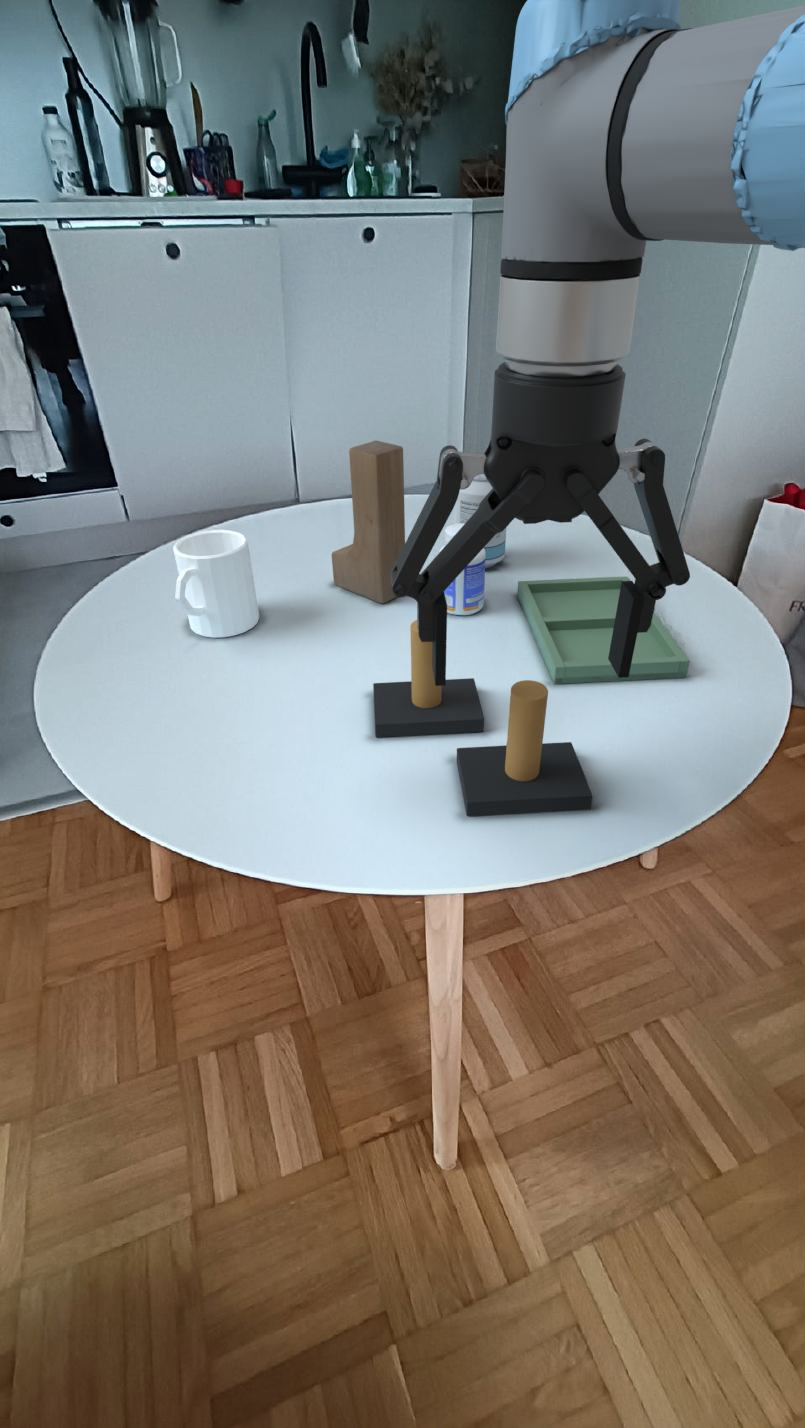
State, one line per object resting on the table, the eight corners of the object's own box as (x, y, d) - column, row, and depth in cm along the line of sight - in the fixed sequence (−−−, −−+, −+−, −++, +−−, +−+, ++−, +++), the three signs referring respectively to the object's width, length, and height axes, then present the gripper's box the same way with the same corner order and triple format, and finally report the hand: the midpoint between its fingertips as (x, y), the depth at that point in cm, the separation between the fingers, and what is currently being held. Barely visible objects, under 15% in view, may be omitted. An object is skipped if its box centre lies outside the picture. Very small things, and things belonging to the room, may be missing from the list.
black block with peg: (483, 732, 66) (488, 642, 61) (375, 737, 66) (370, 647, 60) (473, 690, 72) (476, 604, 66) (373, 695, 72) (368, 609, 66)
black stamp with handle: (590, 809, 57) (607, 712, 52) (466, 816, 57) (470, 719, 52) (569, 755, 63) (582, 662, 58) (456, 761, 63) (458, 668, 57)
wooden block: (332, 584, 93) (320, 440, 82) (357, 573, 95) (348, 432, 85) (382, 605, 88) (376, 454, 77) (407, 593, 90) (404, 445, 80)
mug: (158, 650, 80) (137, 567, 74) (212, 602, 89) (197, 526, 84) (222, 659, 78) (205, 575, 72) (270, 610, 87) (259, 532, 82)
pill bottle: (484, 597, 89) (487, 520, 83) (482, 617, 84) (486, 538, 79) (440, 595, 89) (441, 519, 84) (436, 615, 85) (436, 537, 79)
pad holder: (686, 677, 73) (690, 660, 72) (553, 684, 72) (555, 667, 71) (625, 590, 89) (627, 576, 88) (516, 595, 89) (517, 581, 88)
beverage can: (503, 552, 100) (509, 464, 93) (504, 572, 95) (510, 481, 88) (454, 551, 101) (456, 464, 94) (452, 571, 95) (453, 481, 88)
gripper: (743, 344, 45) (674, 639, 57) (345, 356, 44) (362, 653, 56) (804, 367, 39) (712, 692, 51) (343, 381, 38) (363, 708, 50)
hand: (528, 672), depth 54 cm, fingers open, 13 cm apart
